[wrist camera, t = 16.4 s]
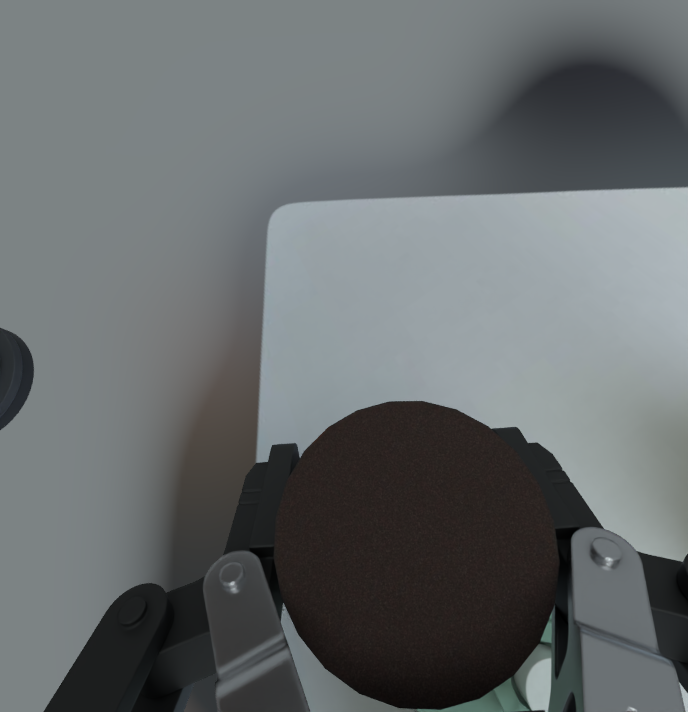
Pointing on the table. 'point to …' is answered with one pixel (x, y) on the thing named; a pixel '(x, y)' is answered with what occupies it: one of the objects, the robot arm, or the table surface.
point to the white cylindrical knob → (536, 678)
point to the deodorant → (416, 555)
